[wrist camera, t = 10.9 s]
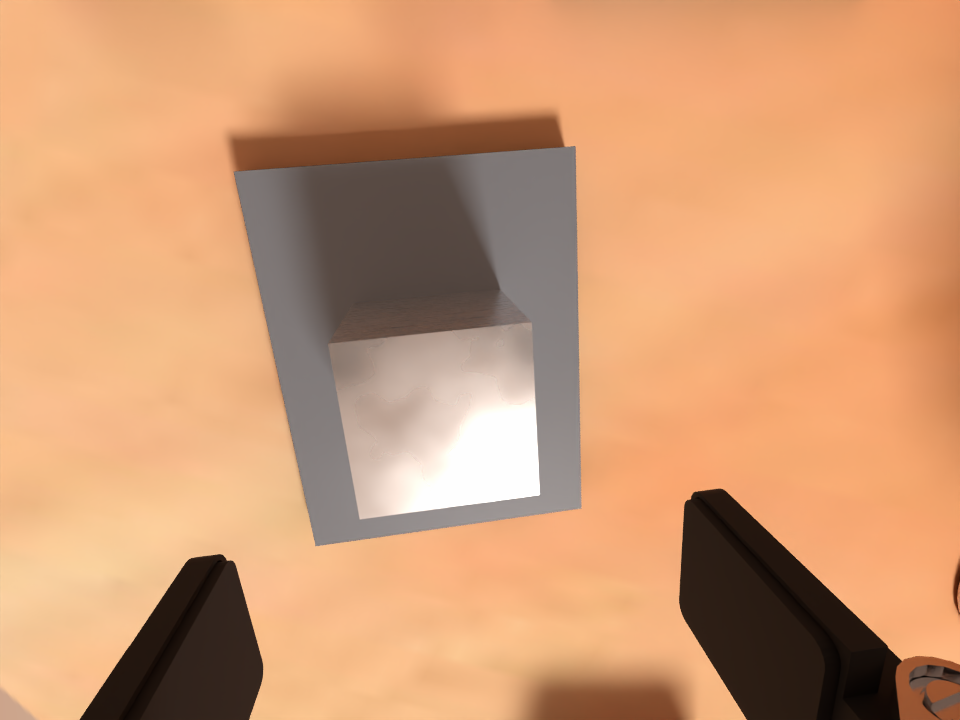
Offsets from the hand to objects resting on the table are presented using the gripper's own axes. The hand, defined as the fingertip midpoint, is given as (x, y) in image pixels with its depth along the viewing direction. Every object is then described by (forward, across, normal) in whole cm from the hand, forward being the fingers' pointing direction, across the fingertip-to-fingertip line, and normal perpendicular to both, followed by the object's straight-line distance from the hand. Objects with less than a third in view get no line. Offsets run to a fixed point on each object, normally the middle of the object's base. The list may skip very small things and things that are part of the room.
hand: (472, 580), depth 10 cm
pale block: (+14, 0, 0) cm, 14 cm away
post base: (+15, +1, 0) cm, 15 cm away
